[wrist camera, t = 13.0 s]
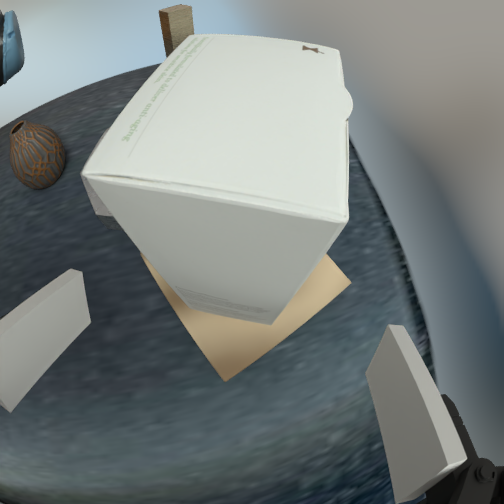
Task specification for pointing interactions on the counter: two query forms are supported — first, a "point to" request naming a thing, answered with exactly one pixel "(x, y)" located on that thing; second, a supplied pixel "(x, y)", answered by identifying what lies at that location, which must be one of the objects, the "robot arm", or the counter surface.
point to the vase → (36, 154)
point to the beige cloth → (250, 333)
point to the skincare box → (232, 170)
